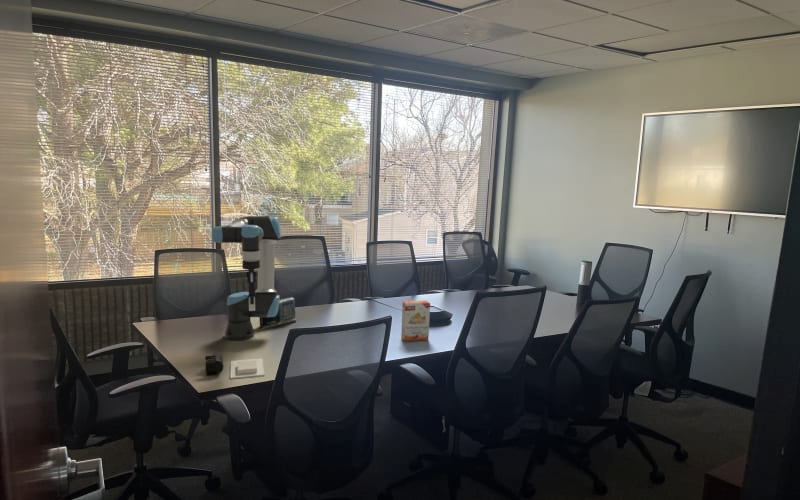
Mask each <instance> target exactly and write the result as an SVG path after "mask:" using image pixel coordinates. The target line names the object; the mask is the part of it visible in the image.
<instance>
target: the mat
mask: <svg viewBox="0 0 800 500" xmlns="http://www.w3.org/2000/svg"><path fill="white" fill-rule="evenodd" d="M253 360H256V364H257V372H256V373H245V374H238V362H241V361H253ZM263 362H264V361H263V358H262V357H261V358H252V359H251V358H250V359H249V358H248V359H239V360H230V377H229V378H230V380H233V379H234V380H235V379H247V378H257V377H265V368H264V363H263Z"/></svg>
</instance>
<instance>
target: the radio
mask: <svg viewBox="0 0 800 500" xmlns="http://www.w3.org/2000/svg"><path fill="white" fill-rule="evenodd" d="M258 318H259V326H258V327H259V329H261V330H264V329H269V328H273V327H277V326H281V325H286V324H291V323H295V322H297V320H296V301H295V298H294V297H293V296H291V295H290V296H288V297H285V298H281V299H280V302H279V309H278V313H277V315H276V316H275V317H258Z"/></svg>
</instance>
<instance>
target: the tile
mask: <svg viewBox="0 0 800 500" xmlns="http://www.w3.org/2000/svg"><path fill="white" fill-rule="evenodd" d="M256 372H257V364H256V360H253V361H241V362H238V374H245V373H256Z"/></svg>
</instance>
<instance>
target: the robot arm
mask: <svg viewBox="0 0 800 500" xmlns="http://www.w3.org/2000/svg"><path fill="white" fill-rule="evenodd" d="M211 232H212V233H211V237H212V240H213V242H214V243H216V244H217V243H218V244H219V243H220V244H224V243H225V244H227V243H228V244H235V243H236V244H241V252H240V255H241V259H242V261H241V262H242V267H241V268H242V269H243V270H246V277H247V280H246V281H247V283H248V291H241V292H235V293H231V294H230V295H228V296H227V299H226V308H227V311H226V312H227V324H226V327H225V330H224V334H223V335H224V339H225V340H228V341H243V340H244V341H245V340H249V339H251V338H253V337H254V336H255V330H254V326H253V323H252V322H251V318H259V317H275V316H276V315H277V313H278V309H279V302H280V300H281V299H280V298H281V296H280V295H279V294H278V292H277V290H276V289H275V270H276V269H275V268H276V267H275V260H276V259H275V258H276V244H277V243H278V242H279V239H281V237H282V231H281V223H280V220H279V218H278V217H277V216H270V215H269V216H268V215H263V216H262V215H261V216H259V215H249V216H248V215H247V216H243V217H239V218H236V219H234V220H232V222H231V223H230V224H227V225H224V226H222V225H219V226H214V227H213V228H212V230H211ZM247 270H248V271H247ZM255 270H257V272H256V271H255ZM256 277H257V281H256ZM256 282H257V288H256V287H255V286H256V284H255V283H256Z"/></svg>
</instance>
